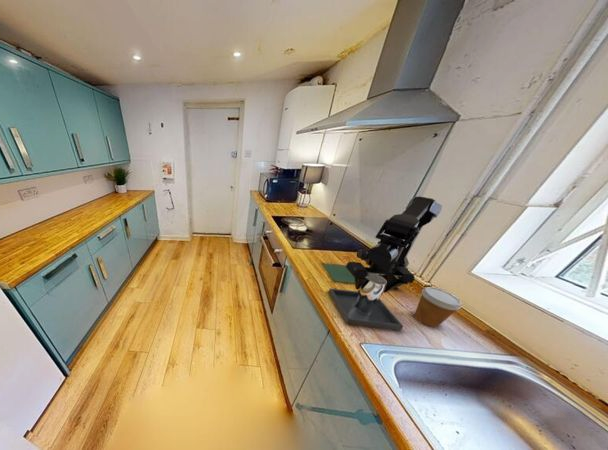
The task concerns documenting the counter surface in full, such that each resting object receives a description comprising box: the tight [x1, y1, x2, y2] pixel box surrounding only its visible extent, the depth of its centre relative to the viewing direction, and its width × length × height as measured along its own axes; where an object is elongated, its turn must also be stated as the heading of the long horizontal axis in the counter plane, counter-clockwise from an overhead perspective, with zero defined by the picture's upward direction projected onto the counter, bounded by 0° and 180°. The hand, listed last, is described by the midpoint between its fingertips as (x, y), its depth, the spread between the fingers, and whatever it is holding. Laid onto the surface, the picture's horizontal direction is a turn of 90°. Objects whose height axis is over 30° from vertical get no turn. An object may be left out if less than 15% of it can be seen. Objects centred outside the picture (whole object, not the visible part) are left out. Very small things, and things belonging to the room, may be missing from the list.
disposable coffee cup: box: [413, 286, 463, 328], centre depth 71 cm, size 10×10×12 cm
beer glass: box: [352, 273, 387, 315], centre depth 73 cm, size 7×7×15 cm
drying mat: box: [322, 263, 355, 285], centre depth 97 cm, size 16×14×1 cm
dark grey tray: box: [327, 288, 404, 332], centre depth 76 cm, size 18×16×2 cm
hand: (369, 290), depth 72 cm, fingers open, 9 cm apart
